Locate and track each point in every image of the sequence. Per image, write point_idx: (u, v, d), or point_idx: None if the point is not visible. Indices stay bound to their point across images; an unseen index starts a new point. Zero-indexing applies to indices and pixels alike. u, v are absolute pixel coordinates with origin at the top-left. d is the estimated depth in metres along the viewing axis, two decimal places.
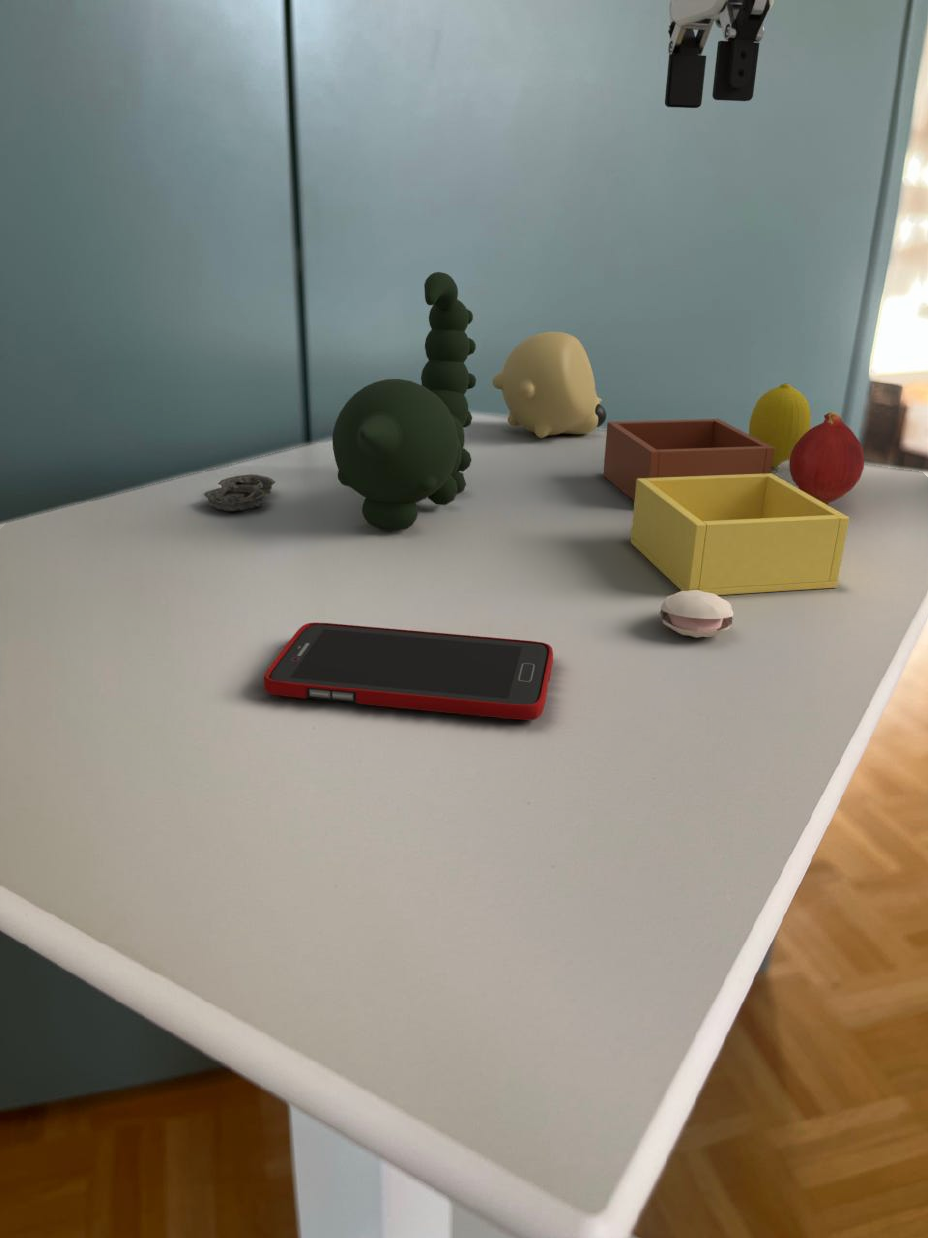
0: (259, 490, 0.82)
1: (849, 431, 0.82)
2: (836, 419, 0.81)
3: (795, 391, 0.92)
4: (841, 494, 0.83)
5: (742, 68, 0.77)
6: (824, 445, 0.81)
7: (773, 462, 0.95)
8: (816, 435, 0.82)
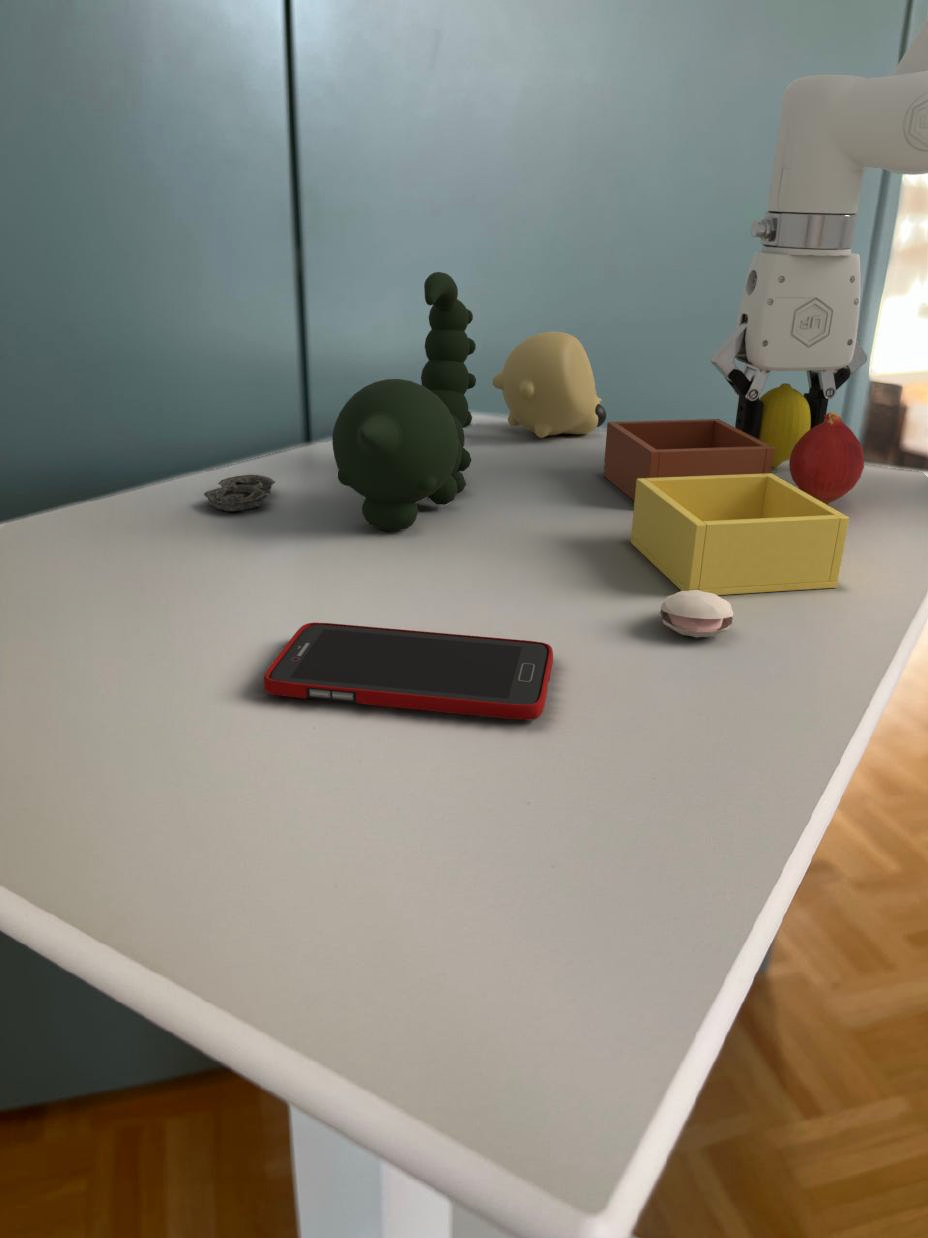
0: (259, 490, 0.82)
1: (849, 431, 0.82)
2: (836, 419, 0.81)
3: (795, 391, 0.92)
4: (841, 494, 0.83)
5: (740, 418, 0.93)
6: (824, 445, 0.81)
7: (773, 462, 0.95)
8: (816, 435, 0.82)
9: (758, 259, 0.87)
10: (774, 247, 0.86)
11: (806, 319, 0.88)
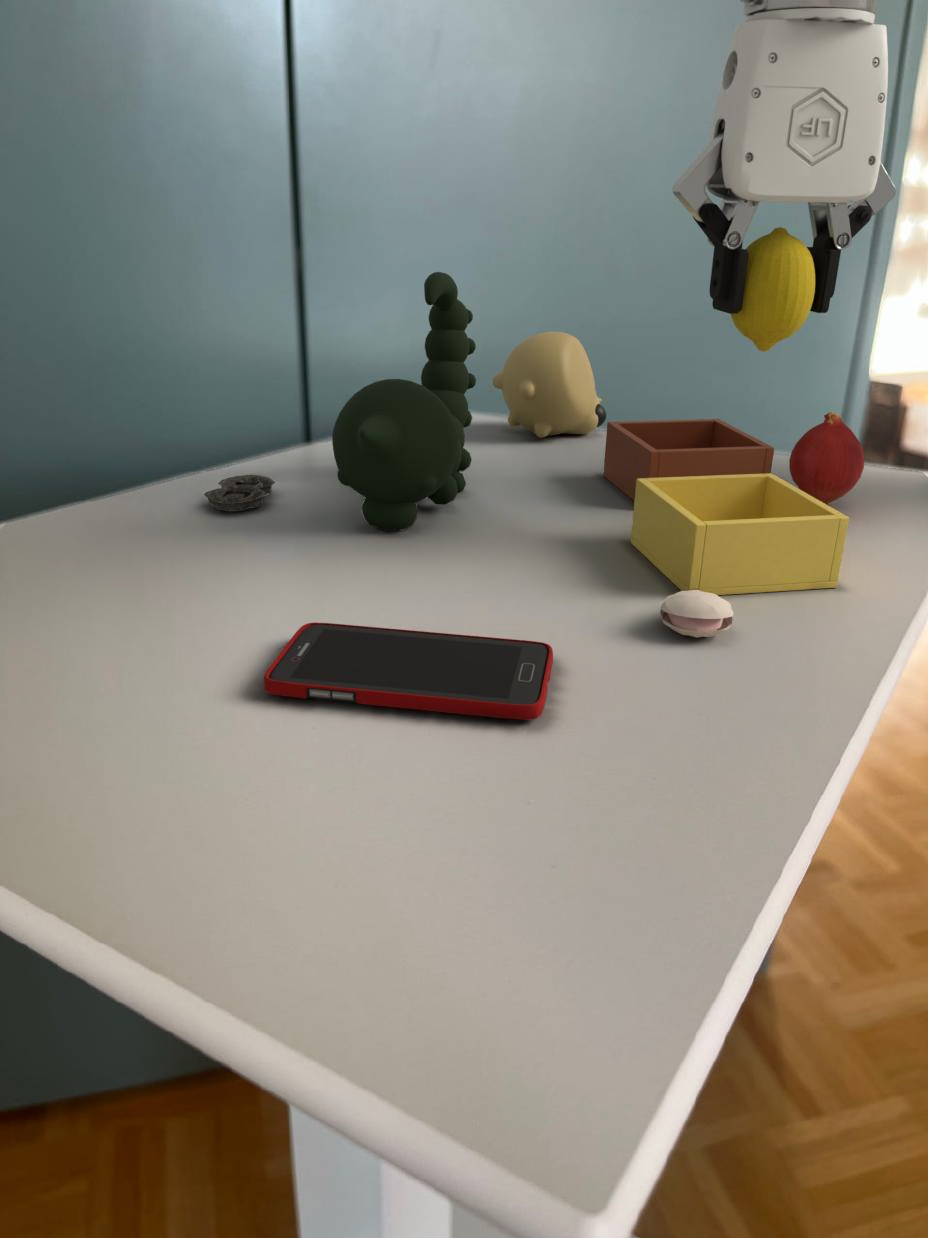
0: (259, 490, 0.82)
1: (849, 431, 0.82)
2: (836, 419, 0.81)
3: (793, 237, 0.65)
4: (841, 494, 0.83)
5: (716, 277, 0.66)
6: (824, 445, 0.81)
7: (763, 343, 0.68)
8: (816, 435, 0.82)
9: (739, 34, 0.60)
10: (762, 12, 0.59)
11: (809, 122, 0.61)
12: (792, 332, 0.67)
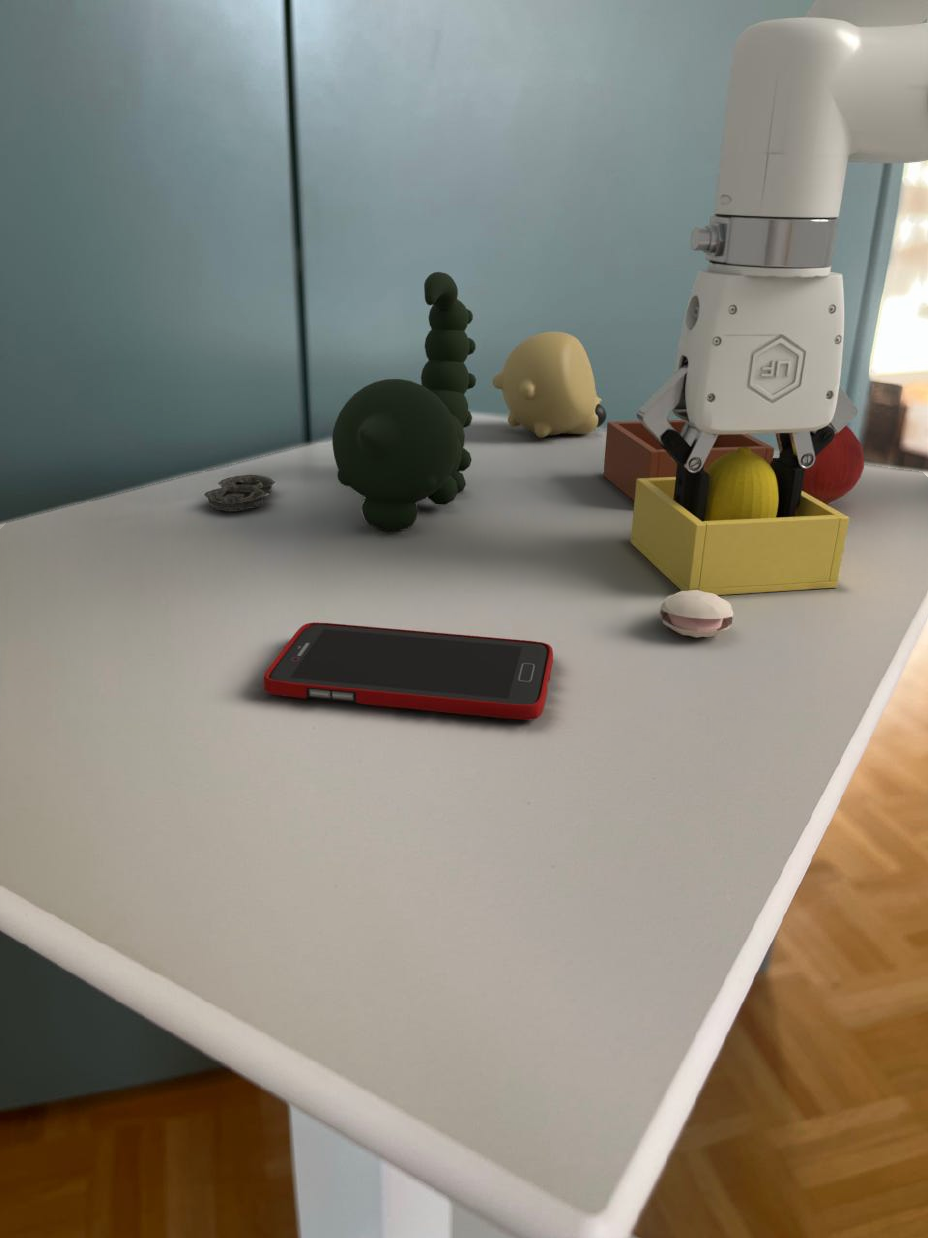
0: (259, 490, 0.82)
1: (849, 431, 0.82)
2: None
3: (757, 458, 0.68)
4: (841, 494, 0.83)
5: (679, 494, 0.68)
6: None
7: None
8: None
9: (701, 282, 0.63)
10: (723, 265, 0.62)
11: (769, 364, 0.63)
12: None
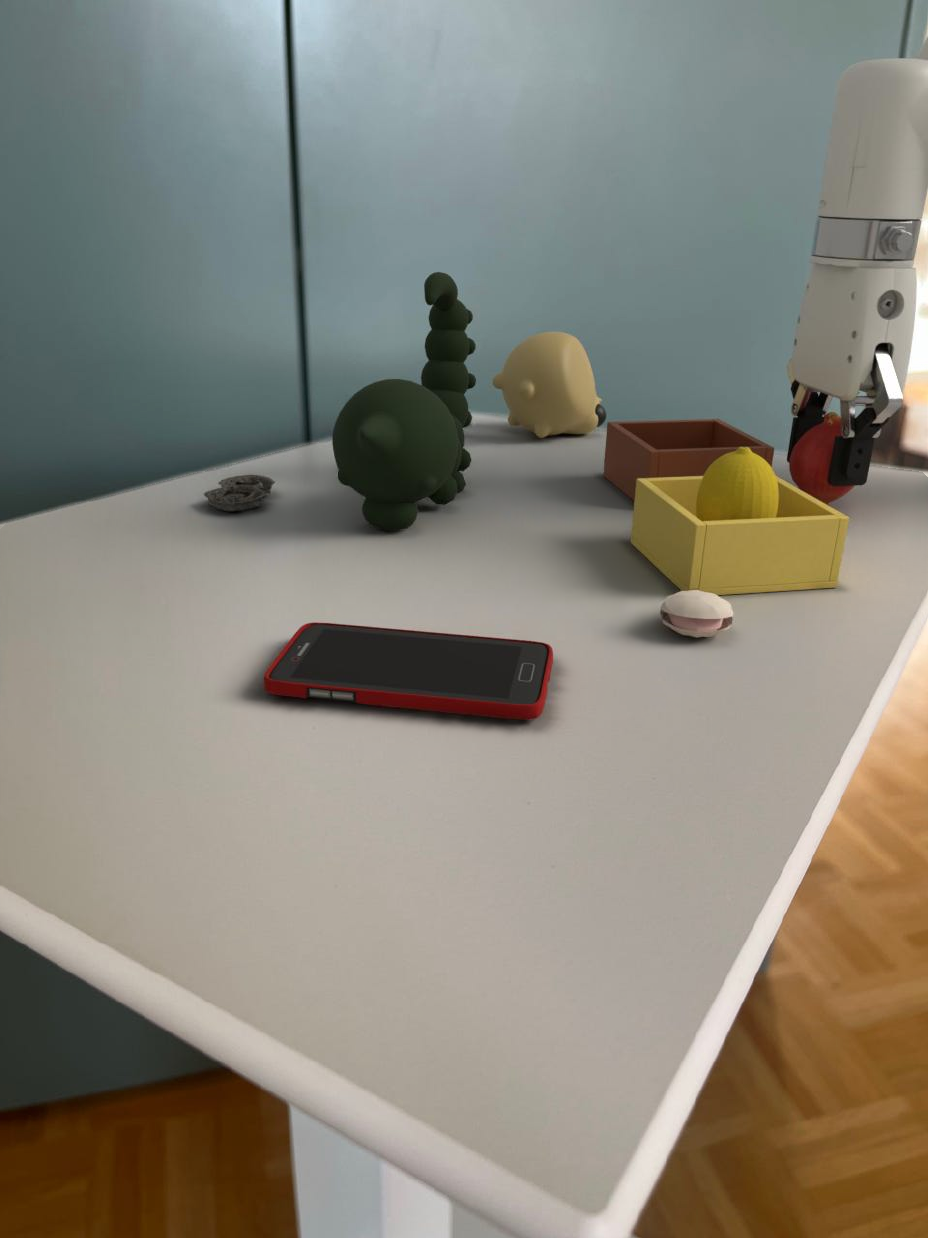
0: (259, 490, 0.82)
1: None
2: (836, 419, 0.81)
3: (757, 458, 0.68)
4: (841, 494, 0.83)
5: (858, 462, 0.79)
6: (823, 445, 0.81)
7: None
8: (816, 435, 0.82)
9: (896, 277, 0.73)
10: (900, 261, 0.74)
11: None
12: None
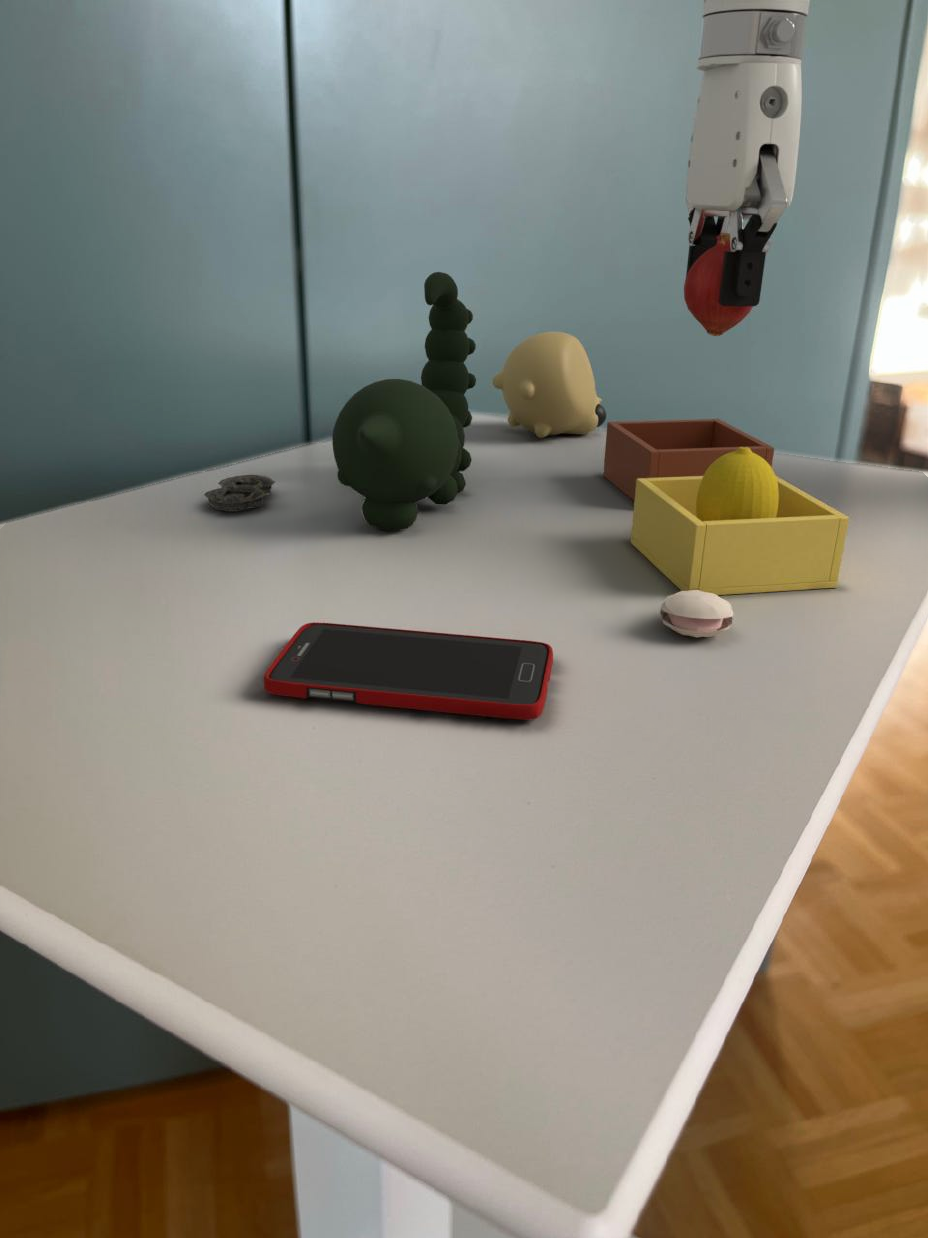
0: (259, 490, 0.82)
1: None
2: (728, 239, 0.79)
3: (757, 458, 0.68)
4: (735, 319, 0.80)
5: (748, 278, 0.77)
6: (715, 265, 0.79)
7: None
8: (708, 256, 0.79)
9: (779, 72, 0.71)
10: (784, 57, 0.72)
11: None
12: None
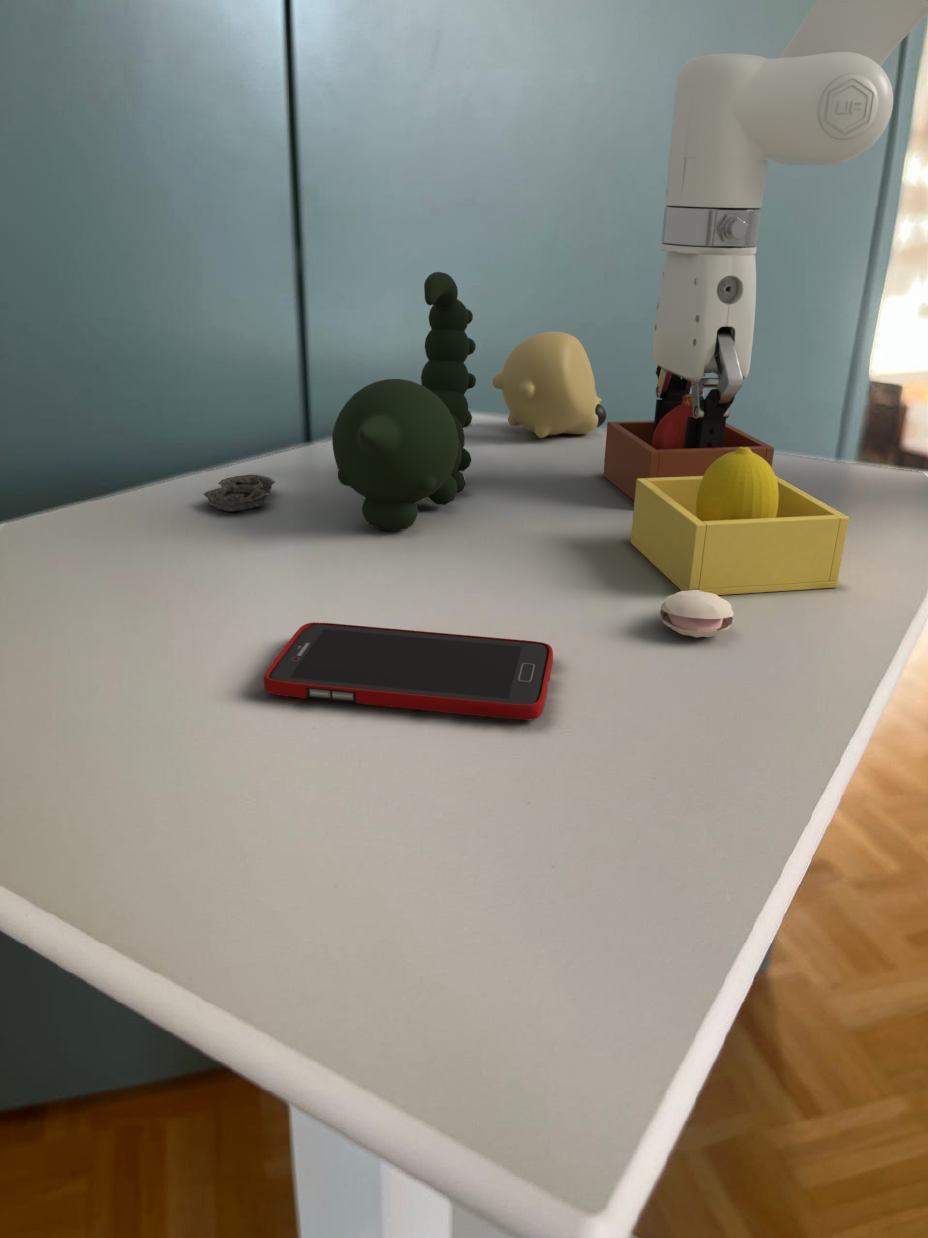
0: (259, 490, 0.82)
1: None
2: None
3: (757, 458, 0.68)
4: None
5: (710, 441, 0.82)
6: (680, 425, 0.84)
7: None
8: (674, 416, 0.85)
9: (734, 263, 0.77)
10: (739, 248, 0.77)
11: None
12: None
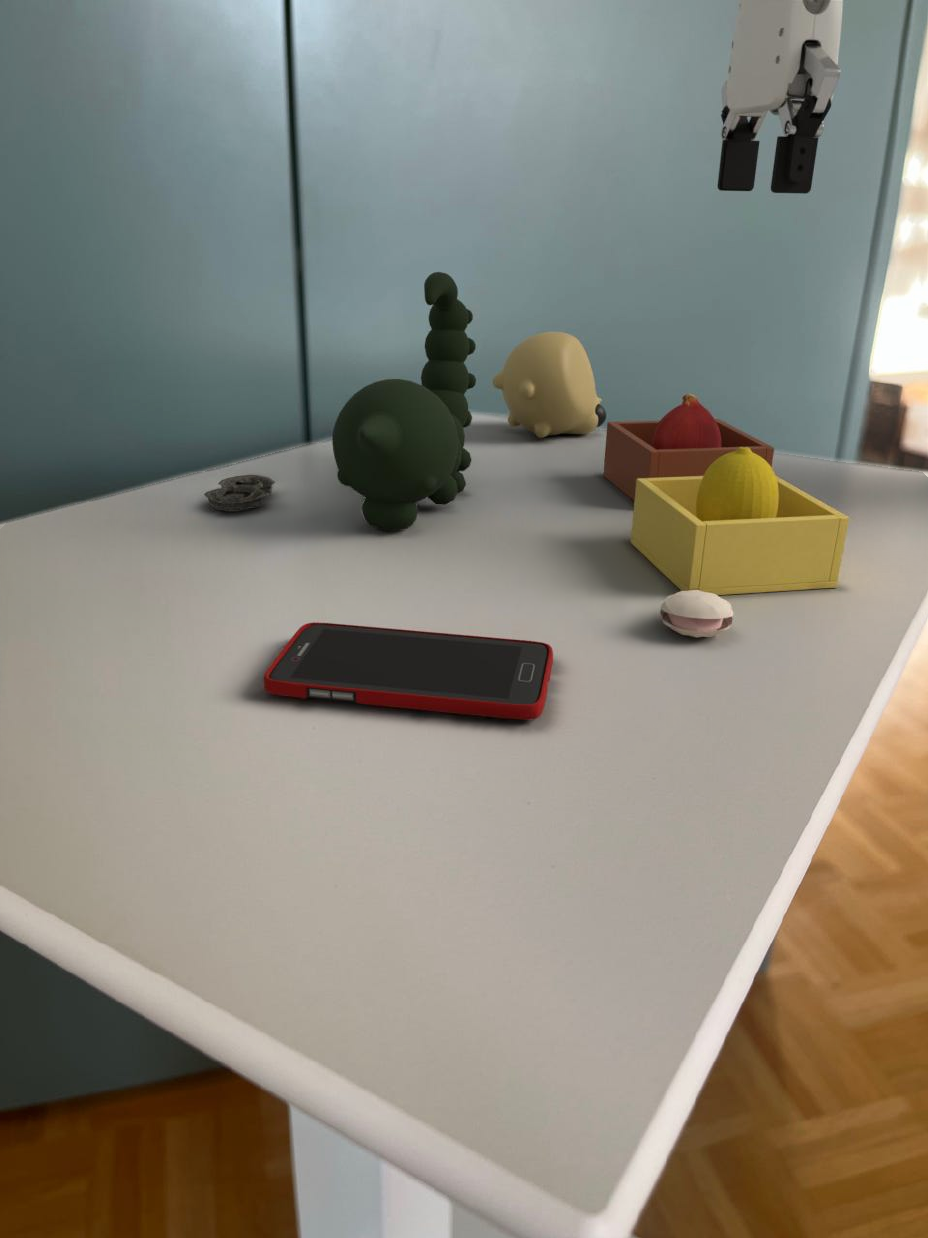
0: (259, 490, 0.82)
1: (705, 412, 0.85)
2: (693, 400, 0.85)
3: (757, 458, 0.68)
4: None
5: (801, 163, 0.77)
6: (680, 425, 0.84)
7: None
8: (674, 416, 0.85)
9: None
10: None
11: None
12: None
